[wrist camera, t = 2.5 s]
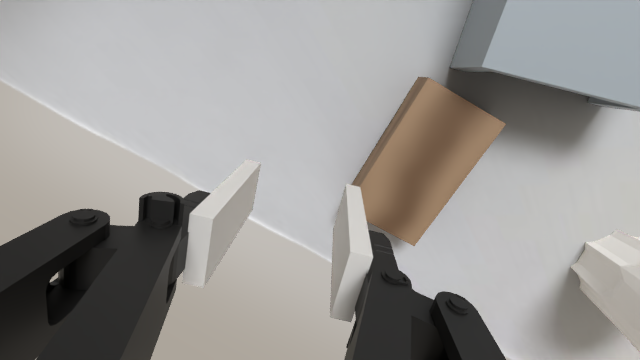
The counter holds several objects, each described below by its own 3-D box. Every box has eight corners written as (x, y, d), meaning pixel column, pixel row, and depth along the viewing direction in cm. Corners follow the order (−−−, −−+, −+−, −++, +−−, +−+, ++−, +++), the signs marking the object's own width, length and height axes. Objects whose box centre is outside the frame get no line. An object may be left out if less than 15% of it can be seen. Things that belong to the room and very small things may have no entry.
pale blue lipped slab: (449, 67, 30) (494, 66, 21) (507, -96, 25) (592, -180, 17) (602, 106, 30) (706, 120, 21) (683, -49, 26) (854, -108, 17)
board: (344, 194, 35) (345, 209, 31) (417, 76, 30) (428, 77, 27) (406, 227, 36) (414, 246, 32) (485, 117, 31) (505, 123, 27)
